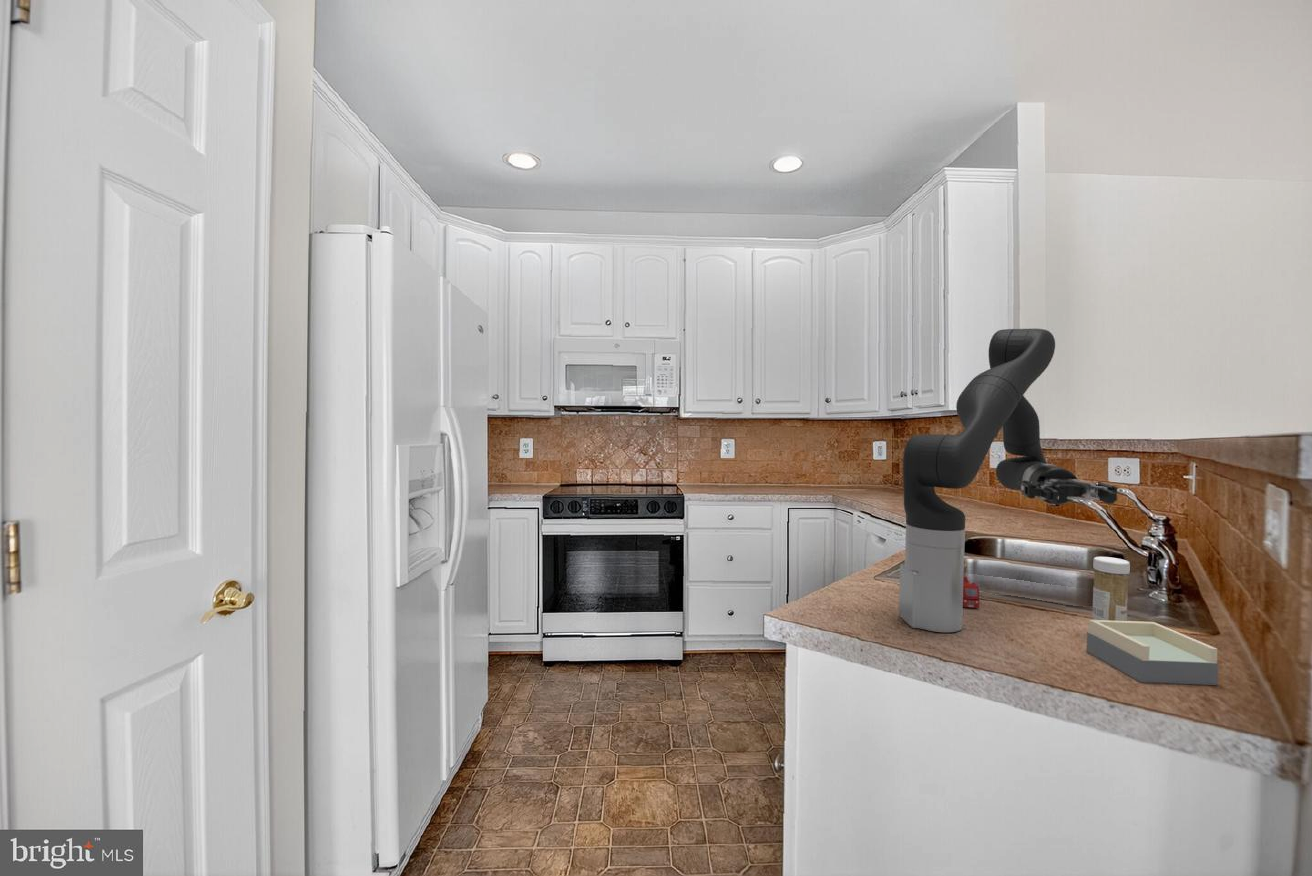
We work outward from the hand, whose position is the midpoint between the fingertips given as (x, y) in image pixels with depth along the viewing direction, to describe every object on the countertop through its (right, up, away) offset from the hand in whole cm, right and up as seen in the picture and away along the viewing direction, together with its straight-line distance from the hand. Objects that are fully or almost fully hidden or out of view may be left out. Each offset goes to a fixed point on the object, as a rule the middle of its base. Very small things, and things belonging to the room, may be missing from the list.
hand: (1083, 497), depth 98 cm
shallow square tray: (-6, -23, -19) cm, 30 cm away
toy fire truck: (-16, -22, +12) cm, 30 cm away
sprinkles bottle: (-3, -23, -9) cm, 25 cm away
